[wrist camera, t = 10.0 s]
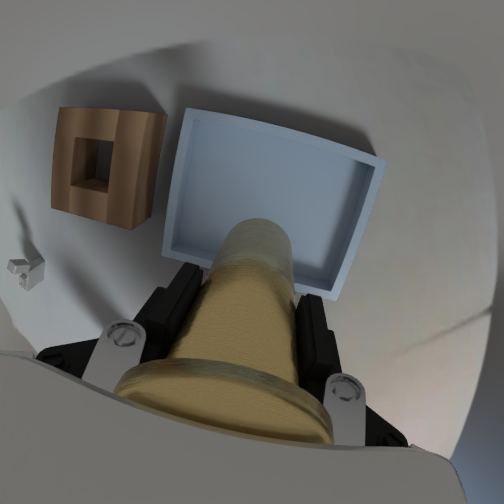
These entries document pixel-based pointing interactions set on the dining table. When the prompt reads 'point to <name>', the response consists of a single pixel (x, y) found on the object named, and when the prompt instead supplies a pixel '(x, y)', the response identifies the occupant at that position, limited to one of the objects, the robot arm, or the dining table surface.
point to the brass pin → (238, 347)
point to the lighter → (28, 271)
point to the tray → (270, 194)
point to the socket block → (122, 164)
